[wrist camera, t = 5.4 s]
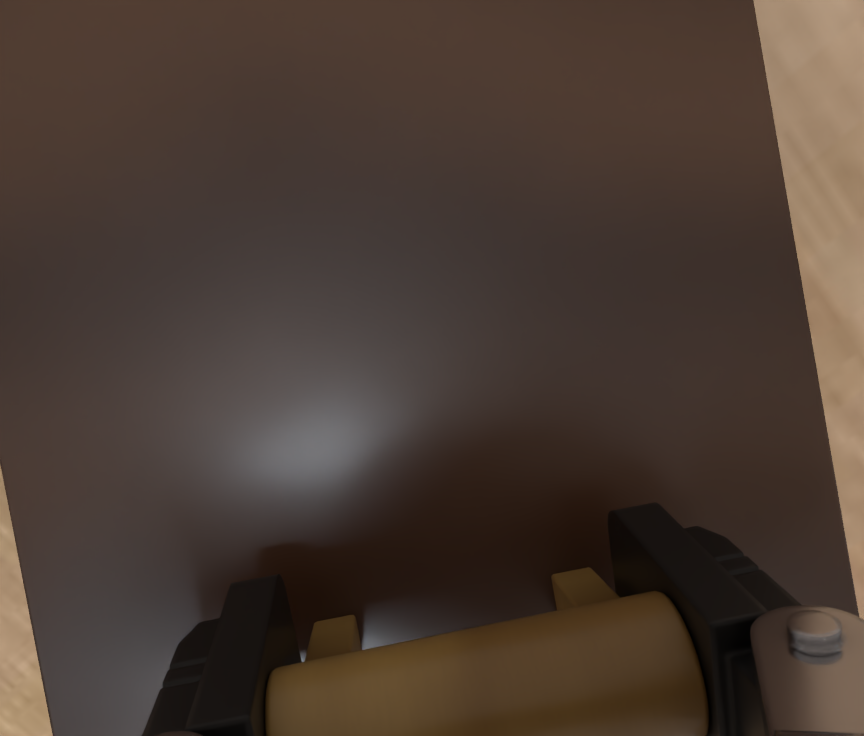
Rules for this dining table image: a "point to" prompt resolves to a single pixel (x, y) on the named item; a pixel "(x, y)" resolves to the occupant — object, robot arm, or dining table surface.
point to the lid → (398, 349)
